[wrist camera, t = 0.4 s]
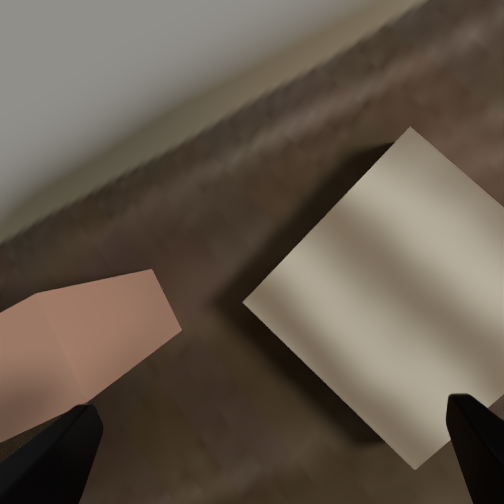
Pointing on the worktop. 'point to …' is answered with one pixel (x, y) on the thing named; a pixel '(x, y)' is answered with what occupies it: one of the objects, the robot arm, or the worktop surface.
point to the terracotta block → (76, 345)
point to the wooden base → (398, 296)
